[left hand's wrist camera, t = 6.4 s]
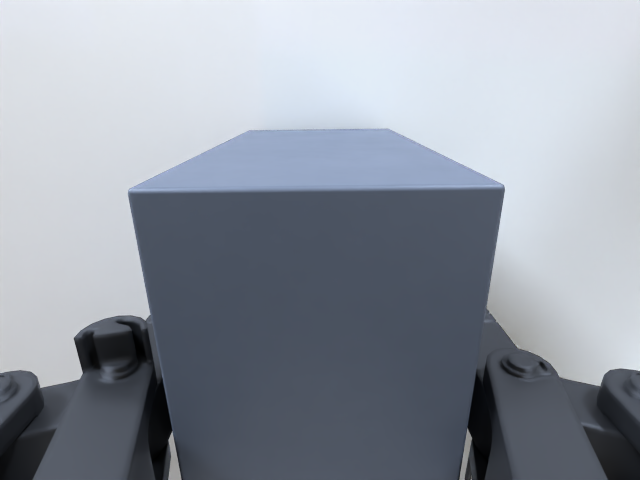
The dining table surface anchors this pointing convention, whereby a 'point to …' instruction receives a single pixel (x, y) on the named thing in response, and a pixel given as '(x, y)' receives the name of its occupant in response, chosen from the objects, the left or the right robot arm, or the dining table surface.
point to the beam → (318, 304)
